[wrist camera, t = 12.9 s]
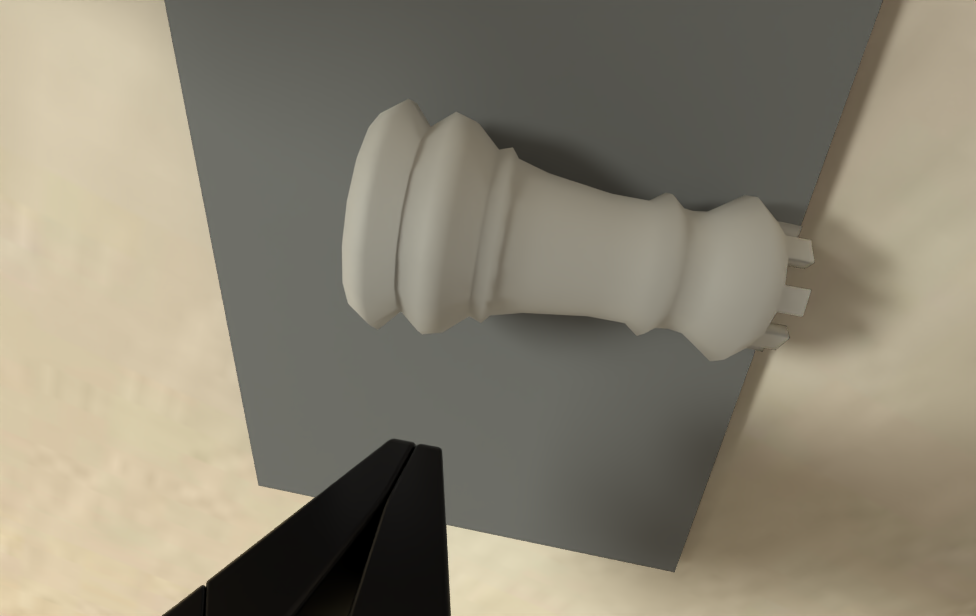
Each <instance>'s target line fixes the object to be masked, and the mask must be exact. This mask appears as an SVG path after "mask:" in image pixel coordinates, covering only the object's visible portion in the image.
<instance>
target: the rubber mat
mask: <svg viewBox="0 0 976 616" xmlns="http://www.w3.org/2000/svg"><path fill="white" fill-rule="evenodd" d="M164 1H165V6H166V11H167V16H168V21H169V26H170V32H171V37H172V42H173V47H174V52H175V57H176V62H177V68H178V73H179V78H180V83H181V88H182V93H183V99H184V104H185V109H186V114H187V119H188V124H189V129H190V135H191V140H192V145H193V150H194V155H195V160H196V165H197V171H198V176H199V181H200V186H201V191H202V196H203V202H204V207H205V212H206V217H207V222H208V227H209V232H210V238H211V243H212V248H213V253H214V258H215V263H216V268H217V274H218V279H219V284H220V289H221V294H222V299H223V305H224V310H225V315H226V320H227V325H228V330H229V335H230V341H231V346H232V351H233V356H234V361H235V366H236V371H237V377H238V382H239V387H240V392H241V397H242V402H243V408H244V413H245V418H246V423H247V428H248V433H249V438H250V444H251V449H252V454H253V459H254V464H255V469H256V474H257V480H258V485H259V486H264V487H268V488H273V489H278V490H283V491H288V492H292V493H297V494H302V495H307V496H311V497H316V496H317V495H319V494H320V493H321V492H322V491H324V490H325V489H326V488H328V487H329V486H330V485H331V484H333V483H334V482H335V481H337V480H338V479H339V478H340V477H342V476H343V475H344V474H346V473H347V472H348V471H349V470H351V469H352V468H353V467H355V466H356V465H357V464H358V463H360V462H361V461H362V460H364V459H365V458H366V457H367V456H369V455H370V454H371V453H373V452H374V451H375V450H376V449H378V448H379V447H380V446H382V445H383V444H384V443H385V442H387V441H388V440H390V439H400V440H405V441H410V442H414V443H415V444H416V445H418V444H426V445H431V446H436V447H440V448H441V449H442V454H443V473H444V492H445V512H446V525H450V526H455V527H460V528H465V529H470V530H474V531H479V532H484V533H489V534H494V535H498V536H503V537H508V538H513V539H518V540H522V541H527V542H532V543H537V544H541V545H546V546H551V547H556V548H561V549H565V550H570V551H575V552H580V553H585V554H589V555H594V556H599V557H604V558H609V559H613V560H618V561H623V562H628V563H632V564H637V565H642V566H647V567H652V568H656V569H661V570H666V571H671V572H675V570H676V567H677V564H678V561H679V559H680V556H681V553H682V550H683V548H684V545H685V542H686V539H687V537H688V534H689V531H690V528H691V526H692V523H693V520H694V517H695V515H696V512H697V509H698V506H699V504H700V501H701V498H702V496H703V493H704V490H705V487H706V485H707V482H708V479H709V476H710V474H711V471H712V468H713V465H714V463H715V460H716V457H717V454H718V452H719V449H720V446H721V443H722V441H723V438H724V435H725V432H726V430H727V427H728V424H729V421H730V419H731V416H732V413H733V410H734V408H735V405H736V402H737V399H738V397H739V394H740V391H741V389H742V386H743V383H744V380H745V378H746V375H747V372H748V369H749V367H750V364H751V361H752V358H753V356H754V353H755V350H752V349H747V348H745V349H744V350H742V351H740V352H738V353H736V354H734V355H732V356H730V357H728V358H726V359H724V360H718V361H709V360H708V359H707V358H706V357H705V356H704V355H703V354H702V353H701V352H700V351H699V350H698V349H697V348H696V347H695V346H694V345H693V344H692V343H691V342H690V341H689V340H688V339H687V338H686V337H685V336H684V335H683V334H682V333H679V332H676V331H673V330H670V329H664V328H654V329H652V330H650V331H648V332H646V333H645V334H641V335H638V336H636V335H635V334H634V333H633V332H632V330H631V329H630V328H629V327H628V326H627V325H626V324H625V323H621V322H616V321H611V320H605V319H600V318H594V317H589V316H574V315H554V314H535V313H515V314H503V315H490V316H489V317H488V318H486V319H485V320H484V321H483V322H482V323H480V322H478V321H476V320H475V319H473V318H471V317H467V318H466V319H464V320H462V321H461V322H459V323H457V324H456V325H454V326H452V327H451V328H449V329H447V330H446V331H444V332H443V333H432V334H421V333H420V332H419V331H417V330H416V328H415V327H414V326H413V325H412V324H411V323H410V321H409V320H408V319H407V318H406V317H405V316H404V315H403V313H402V312H400V313H398V314H397V315H396V316H395V317H393V318H392V319H391V320H390V321H388V322H387V323H386V324H384V325H383V326H382V327H381V328H379V329H378V330H377V329H376V328H374V327H372V326H370V325H369V324H368V323H367V322H366V321H365V320H364V319H363V318H362V317H361V316H360V315H359V314H358V313H357V312H356V311H355V310H354V309H353V308H352V307H351V306H350V305H349V304H348V302H347V298H346V294H345V290H344V286H343V282H342V240H343V231H344V222H345V213H346V204H347V198H348V194H349V189H350V185H351V181H352V176H353V172H354V167H355V163H356V159H357V156H358V153H359V151H360V148H361V146H362V143H363V140H364V138H365V135H366V133H367V130H368V128H369V126H370V125H371V124H372V123H373V121H374V120H375V119H376V118H377V117H378V115H379V114H380V113H382V112H384V111H386V110H388V109H389V108H391V107H393V106H395V105H397V104H399V103H401V102H403V101H405V100H407V99H410V100H412V101H413V102H415V103H417V104H418V106H419V108H420V109H421V111H422V113H423V114H424V116H425V118H426V119H427V121H428V123H429V124H430V126H433V125H434V124H436V123H438V122H440V121H441V120H443V119H445V118H446V117H448V116H450V115H451V114H453V113H455V112H458V113H460V114H462V115H464V116H466V117H468V118H470V119H472V120H474V121H476V122H477V123H479V124H480V125H481V127H482V128H483V129H484V131H485V132H486V133H487V134H488V136H489V137H490V138H491V140H492V141H493V142H494V144H495V145H496V146H497V148H498V149H499V150H500V149H506V148H512V147H513V148H514V150H515V152H516V154H517V156H518V158H519V159H521V160H523V161H525V162H527V163H529V164H531V165H533V166H535V167H537V168H539V169H541V170H543V171H545V172H547V173H550V174H553V175H556V176H559V177H562V178H565V179H568V180H571V181H574V182H577V183H580V184H583V185H587V186H590V187H593V188H596V189H599V190H602V191H605V192H608V193H611V194H616V195H621V196H627V197H632V198H638V199H643V200H651V199H654V198H656V197H658V196H660V195H662V194H664V193H669V194H673V195H674V196H675V198H676V199H677V200H678V201H679V203H680V204H681V205H682V206H683V208H685V209H688V210H691V211H704V212H708V211H710V210H712V209H714V208H717V207H719V206H721V205H724V204H726V203H728V202H730V201H733V200H735V199H737V198H739V197H742V196H744V195H748V196H754V197H758V198H759V199H760V200H761V201H762V203H763V204H764V205H765V206H766V208H767V209H768V210H769V212H770V213H771V214H772V215H773V217H774V218H775V219H776V220H777V221H778V222H784V223H789V224H794V225H798V226H801V224H802V221H803V218H804V216H805V213H806V210H807V207H808V205H809V202H810V199H811V196H812V194H813V191H814V188H815V185H816V183H817V180H818V177H819V175H820V172H821V169H822V166H823V164H824V161H825V158H826V155H827V153H828V150H829V147H830V144H831V142H832V139H833V136H834V133H835V131H836V128H837V125H838V122H839V120H840V117H841V114H842V111H843V109H844V106H845V103H846V100H847V98H848V95H849V92H850V89H851V87H852V84H853V81H854V78H855V76H856V73H857V70H858V68H859V65H860V62H861V59H862V57H863V54H864V51H865V48H866V46H867V43H868V40H869V37H870V35H871V32H872V29H873V26H874V24H875V21H876V18H877V15H878V13H879V10H880V7H881V4H882V2H883V0H164Z"/></svg>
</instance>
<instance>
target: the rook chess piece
mask: <svg viewBox="0 0 976 616" xmlns="http://www.w3.org/2000/svg"><path fill="white" fill-rule="evenodd" d="M801 229H802V226H798V225H794V224H789V223H784V222H778V221H777V220H776V219H775V218H774V217H773V215H772V214H771V213H770V212H769V210H768V209H767V208H766V206H765V205H764V204H763V203H762V201H761V200H760V199H759V198H758V197H754V196H748V195H744V196H742V197H739V198H737V199H735V200H733V201H730V202H728V203H726V204H724V205H721V206H719V207H717V208H714V209H712V210H710V211H708V212H704V211H691V210H688V209H685V208H683V206H682V205H681V204H680V203H679V201H678V200H677V199H676V198H675V196H674V195H673V194H669V193H664V194H662V195H660V196H658V197H656V198H654V199H651V200H643V199H638V198H632V197H627V196H621V195H616V194H611V193H608V192H605V191H602V190H599V189H596V188H593V187H590V186H587V185H583V184H580V183H577V182H574V181H571V180H568V179H565V178H562V177H559V176H556V175H553V174H550V173H547V172H545V171H543V170H541V169H539V168H537V167H535V166H533V165H531V164H529V163H527V162H525V161H523V160H521V159H519V158H518V156H517V154H516V152H515V150H514V148H513V147H512V148H506V149H500V150H499V149H498V148H497V146H496V145H495V144H494V142H493V141H492V140H491V138H490V137H489V136H488V134H487V133H486V132H485V131H484V129H483V128H482V127H481V125H480V124H479V123H477V122H476V121H474V120H472V119H470V118H468V117H466V116H464V115H462V114H460V113H458V112H455V113H453V114H451V115H450V116H448V117H446V118H445V119H443V120H441V121H440V122H438V123H436V124H434V125H433V126H430V124H429V123H428V121H427V119H426V118H425V116H424V114H423V113H422V111H421V109H420V108H419V106H418V104H417V103H415V102H413V101H412V100H410V99H407V100H405V101H403V102H401V103H399V104H397V105H395V106H393V107H391V108H389V109H388V110H386V111H384V112H382V113H380V114H379V115H378V117H377V118H376V119H375V120H374V121H373V123H372V124H371V125H370V126H369V128H368V130H367V133H366V135H365V138H364V140H363V143H362V146H361V148H360V151H359V153H358V156H357V159H356V163H355V167H354V172H353V176H352V181H351V185H350V189H349V194H348V198H347V204H346V213H345V222H344V231H343V240H342V282H343V286H344V290H345V294H346V298H347V302H348V304H349V305H350V306H351V307H352V308H353V309H354V310H355V311H356V312H357V313H358V314H359V315H360V316H361V317H362V318H363V319H364V320H365V321H366V322H367V323H368V324H369V325H370V326H372V327H374V328H376V329H377V330H378V329H379V328H381V327H382V326H383V325H384V324H386V323H387V322H388V321H390V320H391V319H392V318H393V317H395V316H396V315H397V314H398V313H400V312H402V313H403V315H404V316H405V317H406V318H407V319H408V320H409V321H410V323H411V324H412V325H413V326H414V327H415V328H416V330H417V331H419V332H420V333H421V334H432V333H443V332H444V331H446V330H447V329H449V328H451V327H452V326H454V325H456V324H457V323H459V322H461V321H462V320H464V319H466V318H467V317H471V318H473V319H475V320H476V321H478V322H480V323H482V322H483V321H484V320H485V319H486V318H488V317H489V316H490V315H503V314H515V313H535V314H554V315H574V316H589V317H594V318H600V319H605V320H611V321H616V322H621V323H625V324H626V325H627V326H628V327H629V328H630V329H631V330H632V332H633V333H634V334H635V335H636V336H638V335H641V334H645V333H646V332H648V331H650V330H652V329H654V328H664V329H670V330H673V331H676V332H679V333H682V334H683V335H684V336H685V337H686V338H687V339H688V340H689V341H690V342H691V343H692V344H693V345H694V346H695V347H696V348H697V349H698V350H699V351H700V352H701V353H702V354H703V355H704V356H705V357H706V358H707V359H708V360H709V361H718V360H724V359H726V358H728V357H730V356H732V355H734V354H736V353H738V352H740V351H742V350H744V349H745V348H747V349H752V350H758V351H763V348H768V349H773V350H776V349H777V348H778V347H780V346H781V345H782V344H783V343H784V342H786V341H787V340H788V339H789V334H788V330H787V326H784V325H779V324H773V323H771V321H772V319H773V318H774V316H775V314H776V312H779V313H784V314H790V315H795V316H800V317H803V314H804V311H805V308H806V305H807V302H808V299H809V296H810V293H811V290H810V289H804V288H799V287H793V286H788V285H785V283H786V274H787V266H793V267H798V268H804V269H805V268H807V267H808V266H810V265H811V264H813V263H814V255H813V249H812V242H811V240H809V239H803V238H798V236H799V234H800V231H801Z"/></svg>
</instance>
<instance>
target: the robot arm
mask: <svg viewBox="0 0 976 616" xmlns="http://www.w3.org/2000/svg"><path fill="white" fill-rule="evenodd" d="M162 616H451V608H450V589H449V570H448V550H447V531H446V512H445V492H444V473H443V454H442V449H441V448H440V447H436V446H431V445H426V444H418V445H416V444H415V443H414V442H410V441H405V440H400V439H390V440H388V441H387V442H385V443H384V444H383V445H382V446H380V447H379V448H378V449H376V450H375V451H374V452H373V453H371V454H370V455H369V456H367V457H366V458H365V459H364V460H362V461H361V462H360V463H358V464H357V465H356V466H355V467H353V468H352V469H351V470H349V471H348V472H347V473H346V474H344V475H343V476H342V477H340V478H339V479H338V480H337V481H335V482H334V483H333V484H331V485H330V486H329V487H328V488H326V489H325V490H324V491H322V492H321V493H320V494H319V495H317V496H316V497H315V498H313V499H312V500H311V501H310V502H308V503H307V504H306V505H304V506H303V507H302V508H301V509H299V510H298V511H297V512H295V513H294V514H293V515H292V516H290V517H289V518H288V519H286V520H285V521H284V522H283V523H281V524H280V525H279V526H277V527H276V528H275V529H274V530H272V531H271V532H270V533H268V534H267V535H266V536H265V537H263V538H262V539H261V540H259V541H258V542H257V543H256V544H254V545H253V546H252V547H250V548H249V549H248V550H247V551H245V552H244V553H243V554H241V555H240V556H239V557H238V558H236V559H235V560H234V561H232V562H231V563H230V564H229V565H227V566H226V567H225V568H223V569H222V570H221V571H220V572H218V573H217V574H216V575H214V576H213V577H212V578H211V579H209V580H208V581H207V583H206V586H204V585H202V586H200V587H199V588H197V589H196V590H195V591H194V592H192V593H191V594H190V595H188V596H187V597H186V598H184V599H183V600H182V601H181V602H179V603H178V604H177V605H175V606H174V607H173V608H171V609H170V610H169V611H167V612H166V613H165V614H163V615H162Z"/></svg>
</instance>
